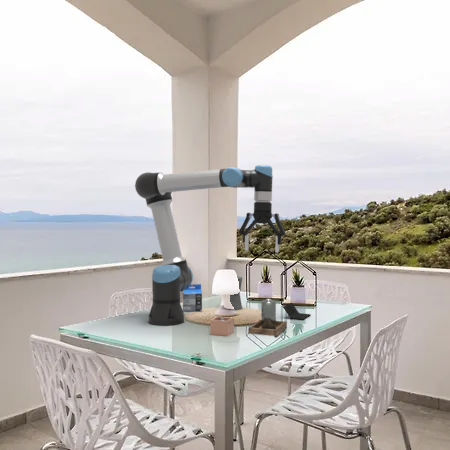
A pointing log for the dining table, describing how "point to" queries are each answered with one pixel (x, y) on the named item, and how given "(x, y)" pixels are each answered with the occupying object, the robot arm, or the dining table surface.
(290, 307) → the handheld gaming console
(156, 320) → the robot arm
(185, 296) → the label tape box
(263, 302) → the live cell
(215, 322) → the terracotta square pot
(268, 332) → the brown wooden tray
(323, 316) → the dining table surface
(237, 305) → the coffeepot
